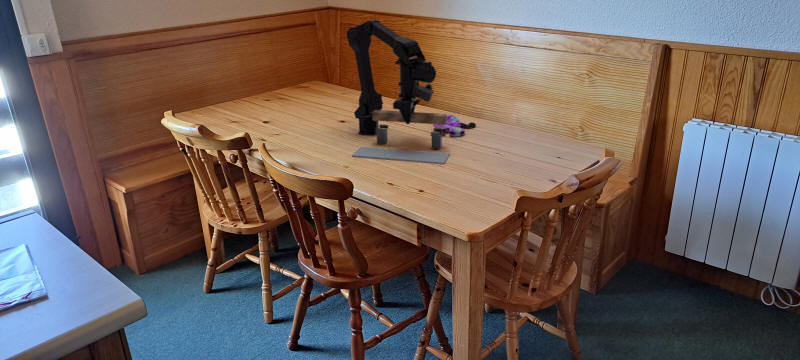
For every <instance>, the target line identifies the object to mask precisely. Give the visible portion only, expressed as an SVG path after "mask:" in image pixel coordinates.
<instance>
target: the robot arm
mask: <svg viewBox="0 0 800 360" xmlns="http://www.w3.org/2000/svg"><path fill="white" fill-rule="evenodd" d="M373 36H374V37H375V38H377V39H379V40H380V41H382V42H383V43H384V44H386V45H387V46H389V47H390V48H391V49H392V53H393V54H394V55H395V56H396V57H397V58H398V59H397V60H396V61H395V62H394V64H395V65H399V81H398V86H399V87H400V88H399V91H400V92H399V94H398V97H397V99H395V100H394V101H393V102H392V108H393V110H398V111H400V113H401V114H402V116H403V118H404V120H405V122H404V123H405V124H406V125H410V117H411V112H415V109H416V106H417V105H418V104H419V103H420V102H421V100H424V102H427V103H428V102H430V101H431V100H432V97H433V95H434V92H435V91H434V90H435V89H433V85H432V84H430V83H432V82H434V81H435V79H436V77H437V70H436V68H435V66H433V65H432V63H433V62H432V61H426V60H427V58H426V57H425V55H424V54H423V51H422V49H421V47H420V46H419V45H420V44H419V43H418V41H416V39H413V38H409V37H404V36H401V35H399V34H398V33H396V32H395V31H393V30H392V29H390V28H389V27H388V26H386V25H384V24H383V23H381V21H380V20H378V19H371V20H367V21H365V22H363V23H361V24H359V25H357V26H351V27H349V28H348V29H347V31H346V39H347V41H348V45H349V47H350V48H351V50H353V52H354V55H355V61H356V67H357V73H358V77H359V83H360V90H361V92H360V95H359V97H358V107H357V108H356V109H355V111H354V117H355V119H358V129H359V131H358V132H357V134H358V135H366V136H367V135H369V136H375V135H377V132H376V131H375V129H376V128H379V129H380V124H379V121H375V120H373V119H372V112H373V111H374V110H383V105H384V102H383V96H382V93H378V92H377V90H376V88H375V82H374V81H375V80H374V75H373V70H372V64H371V58H370V52H369V50H370V47H371V43H372V37H373ZM420 82H422V83H427V84H426V85H421V84H420ZM417 98H418V99H417ZM420 99H421V100H420Z"/></svg>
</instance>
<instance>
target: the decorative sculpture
mask: <svg viewBox="0 0 800 360" xmlns="http://www.w3.org/2000/svg"><path fill="white" fill-rule="evenodd" d="M432 126H433V127H434V128H443V132H439V133H442V134H443V133H447V132H448V134H449V136H451V137H452V138H453V137H454V138H457V137H458V138H459V137H461V136H463V135H464V134H465V133H466V131H465V128H470V129H473V128H476V126H477V125H476V122H469V123H467V124H466V123H464V122H460V119H459V117H457V116H455V115H453V114H447V118H446V124H445V125H439V124H432Z"/></svg>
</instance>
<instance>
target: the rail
mask: <svg viewBox="0 0 800 360" xmlns="http://www.w3.org/2000/svg"><path fill="white" fill-rule="evenodd" d="M447 115H448V114H447V113H440V112H439V113H437V112H435V113H434V112H422V111H421V112H419V111H417V112H416V111H414V112H411V117H410V123H411V124H422V125H423V124H426V125H433V124H439V125H445V124H446V118H447ZM372 119H373V120H375V121H378V122H379V121H380V122H391V123H392V122H393V123H406V122H405V120H404V118H403V116H402V114H401V113H400V111H399V110H383V109H381V110H374V111H373V112H372ZM410 123H409V124H410Z"/></svg>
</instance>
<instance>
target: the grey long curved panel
mask: <svg viewBox="0 0 800 360" xmlns="http://www.w3.org/2000/svg"><path fill="white" fill-rule="evenodd" d="M450 155H451V154H450V153H447V152H436V151H435V152H434V151H433V152H432V151H422V150H421V151H420V150H410V149H408V150H407V149H395V148H394V149H393V148H383V147H370V146H369V147H368V146H360V147H359V148H358V149H357V150H356V151H355V152H354V153H353V154H352V155H351V157H352V158H361V159H362V158H364V159H373V160H375V159H376V160H387V161H388V160H389V161H400V162H402V161H403V162H412V163H413V162H415V163H423V164H437V165H438V164H439V165H446V162H447V161H448V159H449V157H450Z"/></svg>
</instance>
